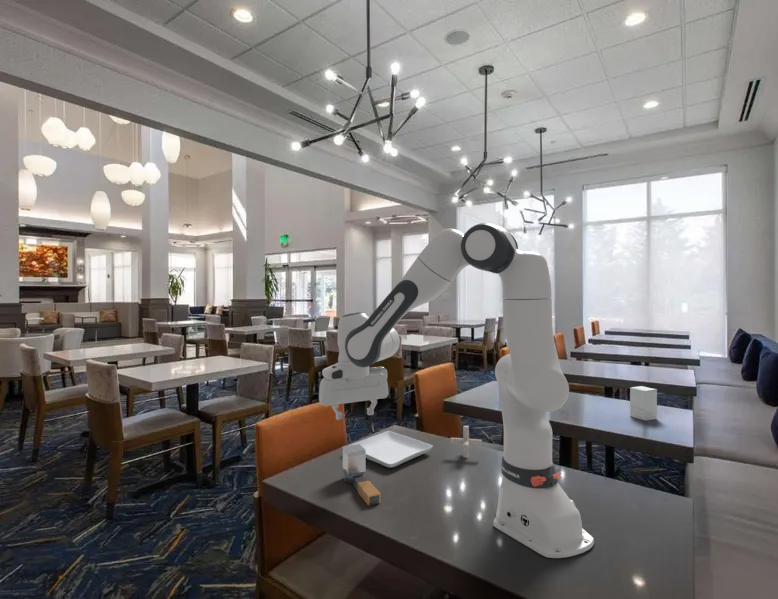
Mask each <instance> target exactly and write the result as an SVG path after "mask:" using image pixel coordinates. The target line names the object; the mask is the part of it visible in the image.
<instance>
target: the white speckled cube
mask: <svg viewBox="0 0 778 599" xmlns="http://www.w3.org/2000/svg"><path fill="white" fill-rule="evenodd" d="M366 461H367V460H366V450H365V449H364V448H363V447H362V446H361V445H360V444H356V445H351V444H349V446H348V445H343V446H342V469H343V470H345V471H346V472H347V474H354V473H360V472H364V473H365V472H366V471H367V469H366V468H367V467H366V463H367V462H366Z"/></svg>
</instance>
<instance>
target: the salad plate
mask: <svg viewBox="0 0 778 599" xmlns="http://www.w3.org/2000/svg"><path fill="white" fill-rule="evenodd" d="M356 444H360V445H361V446H362V447H363V448H364V449H365V450H366V458H367V460H369V461H372V462H374V463H376V464H379V465H381V466H383V467H386V468H395V467H398V466H400V465H401V464H403V463H406V462H408V461H410V460H412V459H416V457H419V456H421V455H424V454H426V453H428V452H429V451H430V450H431V449H433V446H434V445H433V444H430V443H427V442H423V441H422V440H418V439H415V438H414V437H410V436H406V435H404V434H401V433H397V432H395V431H391V430H387V431H384V432H381V433H378V434H376V435H373V436H370V437H368V438H364V439H361V440H359V441H357V442H354V443H351V444H349V445H356ZM349 445H347V446H349Z"/></svg>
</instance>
